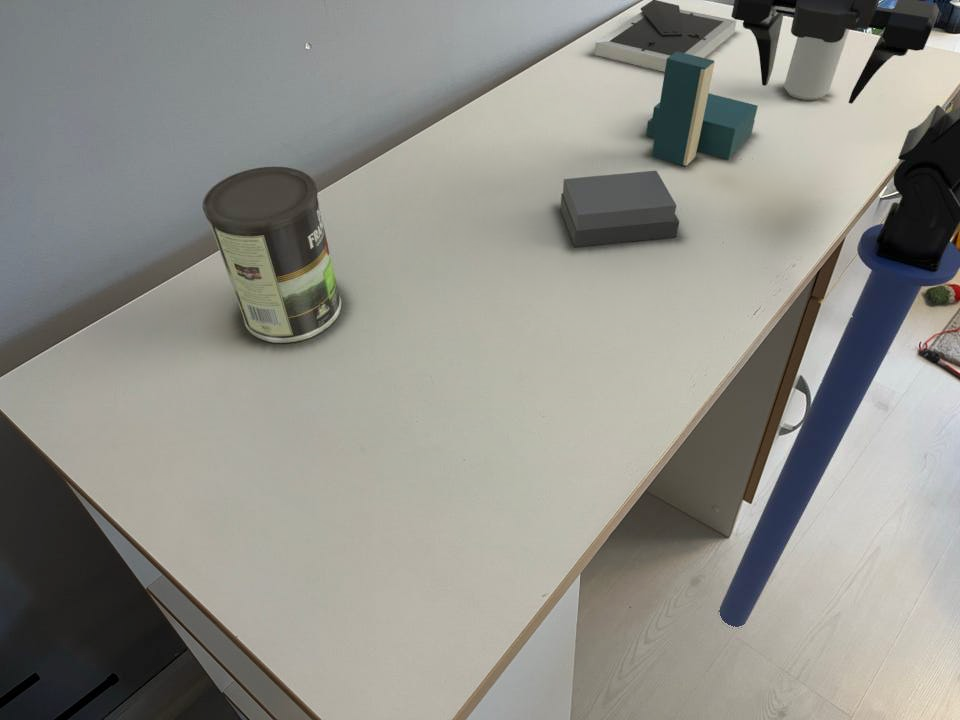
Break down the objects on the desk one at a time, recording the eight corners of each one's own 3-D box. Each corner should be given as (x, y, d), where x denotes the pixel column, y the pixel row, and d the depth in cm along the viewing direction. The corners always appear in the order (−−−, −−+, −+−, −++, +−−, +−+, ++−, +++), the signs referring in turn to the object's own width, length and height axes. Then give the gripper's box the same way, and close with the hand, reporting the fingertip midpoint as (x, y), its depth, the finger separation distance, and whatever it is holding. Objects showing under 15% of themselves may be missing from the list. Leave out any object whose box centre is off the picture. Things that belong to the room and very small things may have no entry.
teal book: (695, 158, 95) (715, 60, 86) (686, 167, 93) (705, 68, 84) (660, 147, 97) (676, 50, 88) (651, 156, 96) (666, 58, 86)
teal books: (751, 135, 99) (758, 104, 96) (728, 160, 94) (735, 129, 91) (670, 113, 104) (675, 83, 101) (645, 136, 99) (649, 106, 96)
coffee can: (340, 274, 80) (316, 160, 70) (342, 336, 72) (315, 219, 62) (246, 285, 79) (208, 171, 69) (239, 349, 71) (195, 232, 61)
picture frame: (651, 15, 131) (594, 55, 119) (653, -1, 129) (596, 37, 117) (734, 33, 124) (682, 76, 112) (737, 16, 122) (685, 58, 110)
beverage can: (775, 85, 109) (798, 2, 101) (816, 82, 110) (842, -2, 101) (793, 103, 105) (818, 18, 96) (835, 100, 105) (864, 15, 97)
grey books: (656, 199, 88) (661, 167, 85) (676, 237, 83) (683, 204, 79) (560, 208, 87) (562, 177, 84) (574, 247, 82) (576, 214, 79)
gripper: (732, -57, 67) (700, 104, 78) (954, -27, 59) (883, 145, 70) (766, -86, 73) (732, 66, 84) (969, -63, 66) (903, 100, 77)
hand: (807, 93), depth 79 cm, fingers open, 9 cm apart
